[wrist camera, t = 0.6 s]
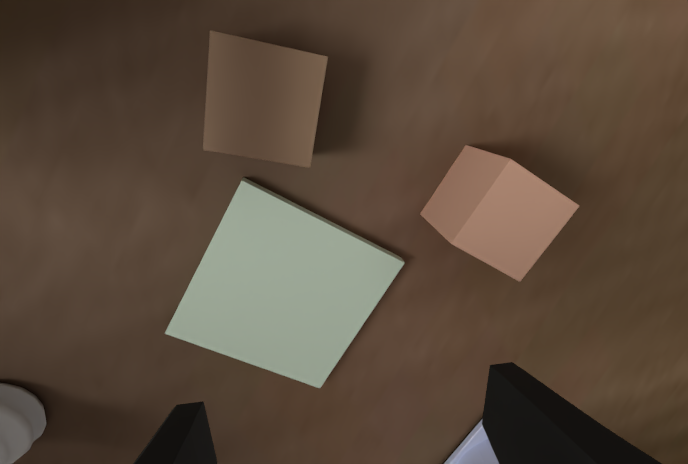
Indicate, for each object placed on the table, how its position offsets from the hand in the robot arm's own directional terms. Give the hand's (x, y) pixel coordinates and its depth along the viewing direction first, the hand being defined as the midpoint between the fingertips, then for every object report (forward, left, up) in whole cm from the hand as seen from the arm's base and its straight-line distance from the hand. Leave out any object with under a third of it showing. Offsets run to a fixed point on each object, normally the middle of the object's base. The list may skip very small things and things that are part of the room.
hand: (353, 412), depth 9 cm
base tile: (+1, +3, -11) cm, 11 cm away
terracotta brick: (-5, -6, -10) cm, 13 cm away
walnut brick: (+6, -5, -10) cm, 13 cm away
